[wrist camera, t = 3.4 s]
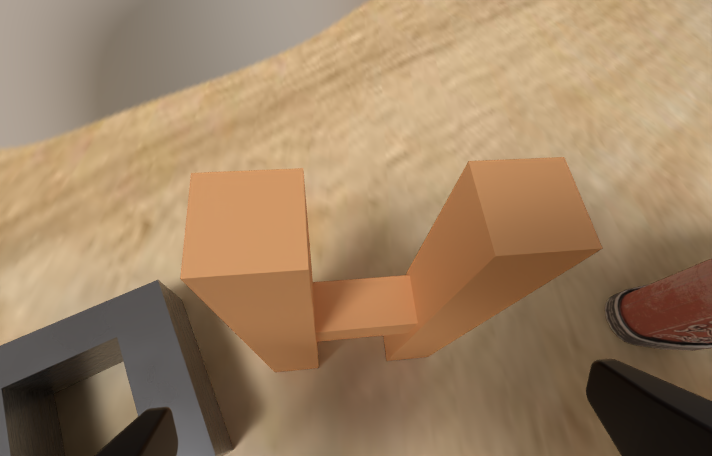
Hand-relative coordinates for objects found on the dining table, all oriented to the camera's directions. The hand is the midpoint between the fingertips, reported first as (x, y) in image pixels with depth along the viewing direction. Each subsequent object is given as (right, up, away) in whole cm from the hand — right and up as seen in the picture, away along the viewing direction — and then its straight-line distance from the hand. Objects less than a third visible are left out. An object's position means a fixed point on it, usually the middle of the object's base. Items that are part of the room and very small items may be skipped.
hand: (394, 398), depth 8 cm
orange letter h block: (-1, -2, +10) cm, 11 cm away
